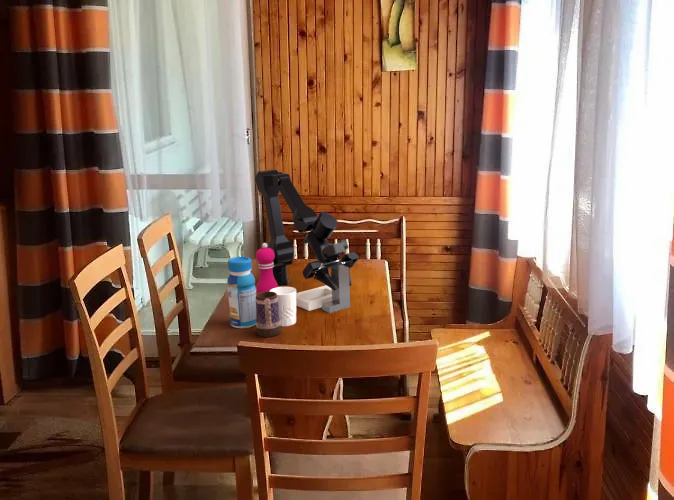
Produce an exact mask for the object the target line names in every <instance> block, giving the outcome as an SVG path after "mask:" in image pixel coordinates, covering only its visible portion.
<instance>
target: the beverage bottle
mask: <svg viewBox="0 0 674 500" xmlns="http://www.w3.org/2000/svg"><path fill="white" fill-rule="evenodd" d="M227 266H228V267H227V268H228V272H229V273H230V274H229V275H228V277H227V280H226V285H227V286H228V287H227V291H226V293H227V296H228V308H229V321H230V322H229V324H230V326H231V327H233V328H235V329H249V328H252V327H255V326H256V299H255V298H256V294H257V293H256V288H257V286H256V285H255V283H256V279H255V276H254V275H253V273H252V272H251V271H252V267H253V266H252V259H251V258H250V257H249V256H235V257H231V258H229V259H228V260H227Z"/></svg>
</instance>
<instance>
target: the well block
mask: <svg viewBox="0 0 674 500" xmlns="http://www.w3.org/2000/svg"><path fill="white" fill-rule="evenodd" d="M330 301H332V289H331V288H330V287H328V286H327V285H325V284H324V285H323V286H319V287H315V288H312V289H308V290H304V291H300V292H296V307H298V308H302V309H304V310H306V311H309V312H310V311H314V310H317V309H322V304H323V303H326V302H330Z"/></svg>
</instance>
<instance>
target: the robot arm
mask: <svg viewBox="0 0 674 500" xmlns="http://www.w3.org/2000/svg"><path fill="white" fill-rule="evenodd" d="M254 177H255V178H254V181H255V184H256V188H257V191H258V192H259V193H260V195H261V196H262V197H263V200H264V207H265V212H266V217H267V218H266V219H267V224H268V230H269V235H270V239H269V243H268V244H267V247H268V248H271V249H272V250H273V251H274V253H275V258H274V260H273V262H274V267H273V276H274V278H275V280H276V282H277V284H278V286H286V285H289V282H290V280H291V279H290V277H288V268H287V267H288V266H289V265H290V266H292V265H293V259H294V255H295V254H294V248H293V242H292V240H288V238H287V236H286V234H285V233H286V232H285V228H284V222H283V216H282V209H281V203H280V197H279V194H280V195H281V197H283V199H284V201H285V203H286V204H287V207H288V208H289V209H290V211H291V214H292V223H293V224H294V227H295V229H296V231H297V232H298V233H300V234H301V233H307V232H308V233H307V234H305V235H304V239H303V245H304V244H308V246H310V249H311V250H312V252H313V254H312V257H313V259H316V260H315V261H310V262H307V264H306V265H305V267H304V268H303V270H302V275H303V278H304V279H305V280H309V279H312V278H313V279H314V280H317V281H319V282H321V283H322V284H324V286H325V285H327V286H328V287H330V288H331V289H333V290H334V291H335V290H336V289H337V288H336V286H335V284H334V282H333V280H332V278H331V274H330V272H329V269H331V267H333V266H337V265H344V266H347V267H349V285H350V287H351V286H352V284H353V283H352V276H351V270H350V269H351V268H353V267H354V266H355V264H356V263H357V262H358V260H359V259H360V258H359V256H358V254H357V253H356V252H354V251H353V252H348V253H346V250H348V249H349V244H348V242H347V241H346V239H341V240H338V241H337V243H332V242H330V243H329V241H328V239H329V238H330V237H331V235H332V234H333V233H334V231H335V230H336V228H337V226H338V220H337V218H336V217H335V216H333V215H332V214H329V213H328V212H327V211H320V213H319V214H317V213H316V212H315V210H314V209H313V208H311V207H310V206H308V205H306V203H305V202H304V200H303V198H302V197H301V195H300V193H299V192H298V189H297V188H296V187H295V185H294V184H293V182H292V180H291V176H290V174H289V173H285V172H283V171H278V170H277V169H275V168H273V169H267V170H266V169H265V170H260V171H258V172H257V173H256V175H255V176H254ZM342 253H345V254H344V255H343V256H342V258H341V255H342ZM339 258H341V259H339Z"/></svg>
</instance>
